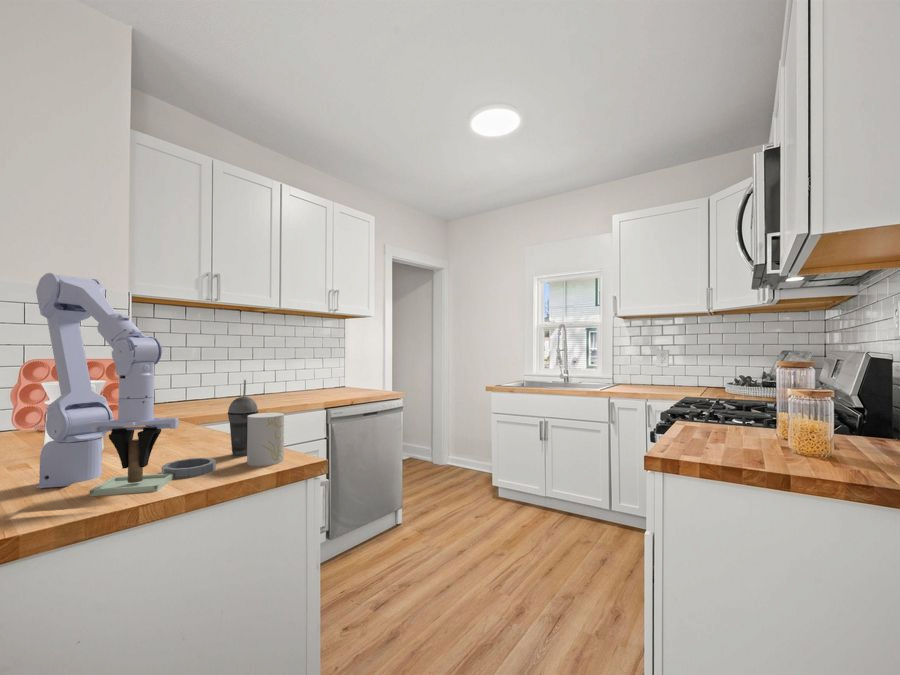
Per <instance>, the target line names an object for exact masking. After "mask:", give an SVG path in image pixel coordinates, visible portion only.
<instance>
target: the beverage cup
mask: <svg viewBox="0 0 900 675" xmlns="http://www.w3.org/2000/svg"><path fill="white" fill-rule="evenodd" d="M246 390H247V380H246V379H243V392H242V393H243V394H242V395H243V396H240V397H237V398H235V399H234V400H233V401H231V403H230V405H229V407H228V411H227V416H228V417H227V418H228V422H229V429H230V441H231V442H230V444H231V453H232V456H233V457H247V424H248V415H252V414H258V413H259V408H258V405H257V403H256V401H255V400H254V399H252V398H250V397H249V396H246Z"/></svg>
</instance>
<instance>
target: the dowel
mask: <svg viewBox="0 0 900 675" xmlns="http://www.w3.org/2000/svg"><path fill="white" fill-rule="evenodd" d="M139 456H140V447H139V440H138V438H135V439H134V438H133V440H129V441H128V468H127V476H128V483H135V482H140V481H142V480H143V475H144V474H143V473H144V472H143V471H144V470H143V469H144V467H141V468H140V466H139Z"/></svg>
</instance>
